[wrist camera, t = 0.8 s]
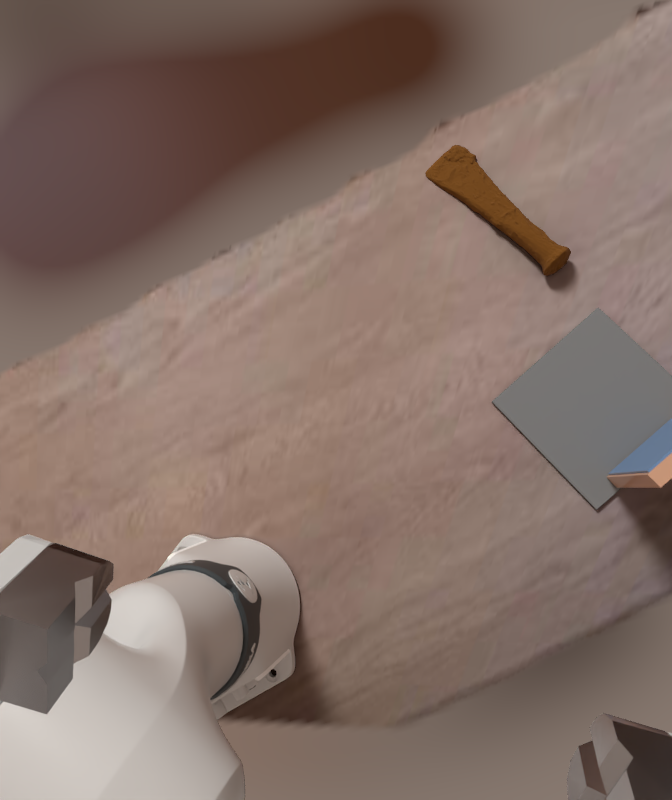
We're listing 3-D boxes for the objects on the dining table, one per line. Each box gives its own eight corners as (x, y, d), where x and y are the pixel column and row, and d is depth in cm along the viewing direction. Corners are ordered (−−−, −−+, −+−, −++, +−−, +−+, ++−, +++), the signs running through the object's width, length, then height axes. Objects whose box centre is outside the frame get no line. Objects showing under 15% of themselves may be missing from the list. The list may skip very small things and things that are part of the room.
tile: (616, 487, 59) (660, 487, 47) (604, 475, 60) (645, 472, 48) (684, 428, 59) (745, 413, 47) (672, 416, 59) (729, 399, 48)
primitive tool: (423, 176, 69) (422, 159, 65) (457, 143, 68) (458, 125, 65) (546, 284, 64) (553, 272, 61) (582, 249, 64) (591, 236, 61)
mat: (595, 509, 60) (596, 509, 59) (491, 402, 63) (492, 401, 63) (707, 411, 59) (709, 410, 59) (597, 308, 62) (598, 307, 62)
